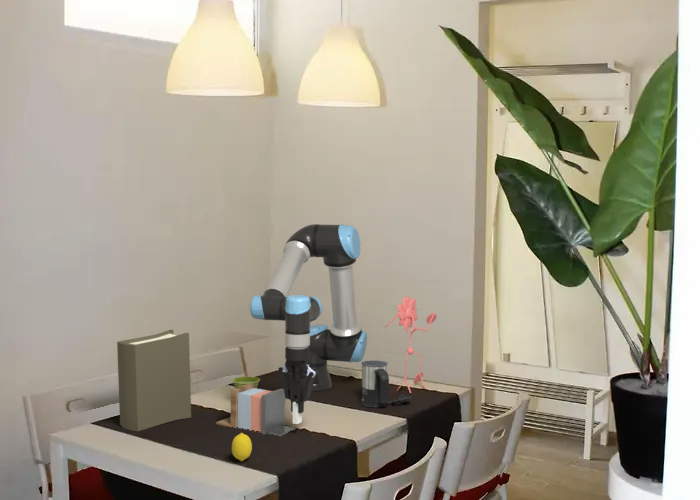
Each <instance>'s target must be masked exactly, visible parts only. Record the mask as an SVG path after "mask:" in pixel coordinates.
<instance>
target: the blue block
mask: <svg viewBox="0 0 700 500" xmlns="http://www.w3.org/2000/svg"><path fill="white" fill-rule="evenodd" d="M266 390H267V389H262V388H258V387H257V388H252V389H249V390H246V391H243V392H240V393H238V428H237V429H242V428H243V430H247V429H249V430H248V431H252V430H251V395H254V394H257V393H260V392H263V391H266Z"/></svg>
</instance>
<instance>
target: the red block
mask: <svg viewBox="0 0 700 500" xmlns="http://www.w3.org/2000/svg"><path fill="white" fill-rule="evenodd" d="M265 390H266V391H263V392H260V393H257V394H254V395H251V430H250V431H252V430H254V431H253V432H256V431H259V432H258V433H261V414H262V395H264V394H267V393H269V392H272V391H273V390H267V389H265Z"/></svg>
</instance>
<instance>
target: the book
mask: <svg viewBox="0 0 700 500" xmlns="http://www.w3.org/2000/svg"><path fill="white" fill-rule="evenodd" d="M116 344H117V348H116V349H117V371H118V372H117V375H118V376H117V377H118V379H117V380H118V401H119V405H118V407H119V426H120V425H121V426H122V427H121V426H120V427H121V428H123V429H124V430H128V431H133V432H140V431H144V430H147V429H150V428H153V427H157V426H161V425H164V424H167V423H170V422H173V421H178V420H183V419H191V418H192V397H191V364H190V363H191V359H190V358H191V357H190V333H189V332H184V333H181V334H177V335H176V334H174V329H169V330H165V331H163V332H158V333H156V334H152V335H147V336H142V337H138V338H131V339H125V340H120V341H116Z"/></svg>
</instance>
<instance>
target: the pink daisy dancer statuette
mask: <svg viewBox="0 0 700 500" xmlns="http://www.w3.org/2000/svg"><path fill="white" fill-rule="evenodd" d="M416 303H417V300H416V299H415V298H411V296H406V297H405V296H404V297H403V299H402V303H399V304H398V305H397V309H398V312H397V314H396V315H395V316H394V317H393V318H392V319H391V320H389V322H388V323H387V324H386V325H385V326H384V328H387V327H388V325H390V324H391V323H392V322H393V321H394V320H395V319H396V318H399V320H398V326H400V327H401V326H403V327H404V331H405V332H406V333H410V335H409V344H408V348H407V349H406V356H405V357H406V359H405V367H404V377H403V381H402V382H401V383H400V385H399V386H398V388H397V390H396V392H398V391H399V390H400V388H401V386H402V385H403V384H404V382H405V384H406V387H407V388H408V391H409V394H411V393H412V391H411V388H410V386H409V383H408V380H407V378H408V376H407V375H406V372H407V363H408V358H409V357H408V356H409V355H413V354H416V355H418V356H419V357H420V364H419V370H418V371H419V373H417V374H416V376H415V377H414V379H413V383H414V384H415V385H418V383H420V382H421V383H422V386H423V389H426V388H427V387H426V385H425V382H424V380H423V376H424V373H423V372H421V369H422V368H421V367H422V359H423V355H422V354H419V353H417V352H416V351H415V349H414V348H413V347H412V346H411V343H412V335H413V333H415V332H416V331H417V330H420V331H422V332H428V331H429V329H430V326H431V324H432V323H434V322H435V321H436V319H437V317H438V316H437V314H436V312H432V313H430V314H429V315H428V316H427V317H426V323H427V324H428V325H427V327H426V329H424V328H420V327H417V324H416V321H418V314H417V309H418V308H417V307H416ZM413 325H414V328H412V327H413ZM409 328H411V329H409ZM408 329H409V330H408ZM397 383H399V381H397V382H394V384H397ZM390 384H392V382H389V385H390ZM434 386H435V387H436V386H437V385H436V384H434Z"/></svg>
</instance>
